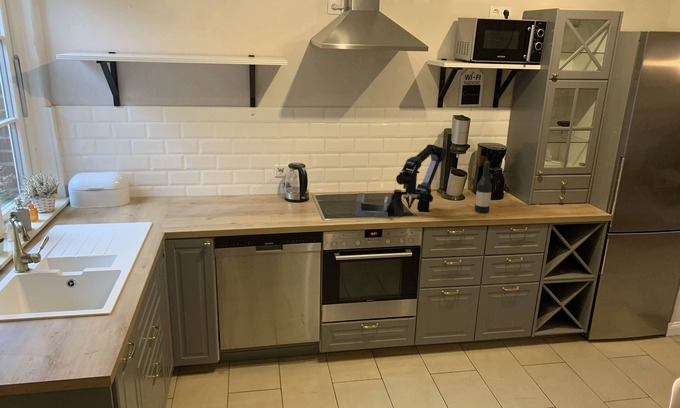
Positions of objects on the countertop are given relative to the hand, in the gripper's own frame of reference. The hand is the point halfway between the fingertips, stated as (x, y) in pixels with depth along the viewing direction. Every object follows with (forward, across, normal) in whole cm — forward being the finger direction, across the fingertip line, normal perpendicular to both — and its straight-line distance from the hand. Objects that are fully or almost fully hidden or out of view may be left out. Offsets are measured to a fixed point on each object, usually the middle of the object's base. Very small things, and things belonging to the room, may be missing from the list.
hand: (409, 208), depth 291 cm
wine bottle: (+4, -42, -17) cm, 46 cm away
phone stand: (+4, +8, 0) cm, 9 cm away
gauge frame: (+4, +20, 0) cm, 20 cm away
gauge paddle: (+4, +13, +3) cm, 14 cm away
